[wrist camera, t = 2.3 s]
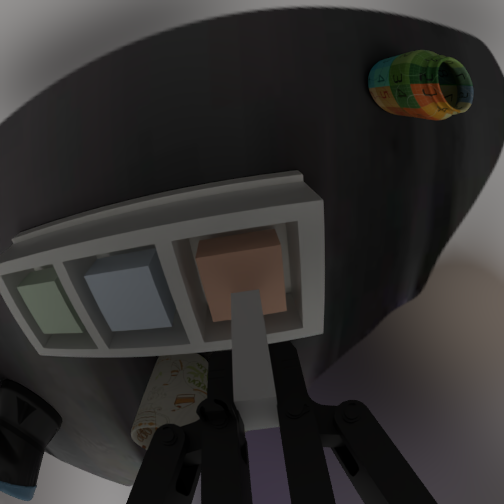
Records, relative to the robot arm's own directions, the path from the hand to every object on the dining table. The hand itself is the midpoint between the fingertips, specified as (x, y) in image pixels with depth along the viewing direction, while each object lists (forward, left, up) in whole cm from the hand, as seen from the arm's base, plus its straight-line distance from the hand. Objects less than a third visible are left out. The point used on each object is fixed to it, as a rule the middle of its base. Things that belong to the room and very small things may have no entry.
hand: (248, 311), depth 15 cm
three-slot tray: (-8, 0, -8) cm, 11 cm away
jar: (+13, +12, -8) cm, 19 cm away
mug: (-7, -14, -8) cm, 17 cm away
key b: (-8, 0, -5) cm, 9 cm away
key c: (0, 0, -5) cm, 5 cm away
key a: (-16, 0, -5) cm, 17 cm away
